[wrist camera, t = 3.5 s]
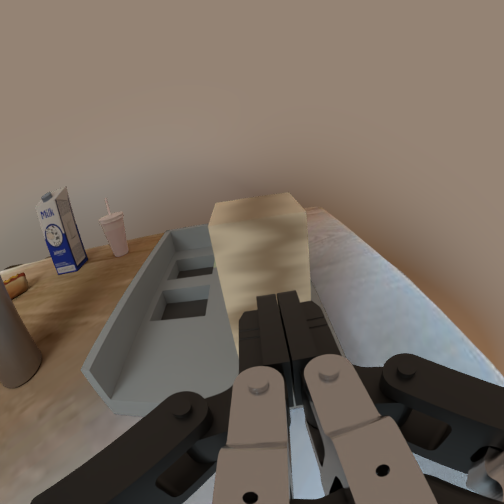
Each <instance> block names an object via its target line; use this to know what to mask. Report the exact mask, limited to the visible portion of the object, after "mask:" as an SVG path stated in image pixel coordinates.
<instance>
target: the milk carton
mask: <svg viewBox="0 0 504 504" xmlns="http://www.w3.org/2000/svg"><path fill="white" fill-rule="evenodd" d="M35 208H36V211H37V215H38V218H39V222H40V225H41V228H42V231H43V234H44V238H45V241H46V244H47V246H48V249H49V252H50V255H51V257H52V260H53V263H54V265H55V268H56V270H57V273H58V275H60V274H65V273H70V272H75V271H78V270H79V269H80V268H81V267H82V265H83V264H84V263H85V262H86V261H87V260H88V258H87V255H86V252H85V249H84V246H83V243H82V240H81V238H80V234H79V231H78V228H77V225H76V221H75V218H74V214H73V211H72V207H71V203H70V200H69V196H68V192H67V187H63V188H60V189H58V190H55V191H53V192H49V193H47V194H45V195H44V196H42V198H41V200H40V202H39V203H38V204H37V205H36V206H35Z"/></svg>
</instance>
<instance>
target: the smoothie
mask: <svg viewBox="0 0 504 504" xmlns="http://www.w3.org/2000/svg"><path fill="white" fill-rule="evenodd" d="M105 202H106V206H107V210H108V215H106V216H104V217H102V218H100V219H99V220H98V221H99V224H100V225H101V226H102V228H103V231H104V233H105V235H106V238H107V240H108V242H109V244H110V247H111V249H112V251H113V253H114V255H115V257H120V256H123V255H125V254H127V253H128V252H129V251H128V246H127V240H126V234H125V228H124V222H123V216H124V215H123V212H115V213H110V209H109V205H108V201H107V198H105Z"/></svg>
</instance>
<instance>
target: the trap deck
mask: <svg viewBox="0 0 504 504" xmlns="http://www.w3.org/2000/svg"><path fill="white" fill-rule="evenodd" d="M208 224H209V223H208ZM208 224H202V225H196V226H190V227H184V228H179V229H173V230H168V231H166V232H165V234H164V235H163V236H162V238H161V239H160V241H159V242H158V243H157V245H156V246H155V248H154V249H153V251H152V252H151V253H150V255H149V256H148V258H147V259H146V261H145V262H144V264H143V265H142V267H141V268H140V270H139V271H138V273H137V274H136V276H135V277H134V279H133V280H132V282H131V284H130V285H129V287H128V288H127V290H126V291H125V293H124V295H123V296H122V298H121V299H120V301H119V303H118V304H117V306H116V307H115V309H114V311H113V312H112V314H111V316H110V317H109V319H108V321H107V323H106V324H105V326H104V328H103V329H102V331H101V333H100V335H99V336H98V338H97V340H96V342H95V344H94V345H93V347H92V349H91V351H90V353H89V354H88V356H87V358H86V360H85V362H84V364H83V366H82V368H81V371H82V373H83V374H84V375H85V377H86V378H87V380H88V381H89V382H90V384H91V385H92V386H93V388H94V389H95V390H96V392H97V393H98V394H99V396H100V397H101V398H102V399H103V401H104V402H105V403H106V404H107V406H108V407H109V408H110V409H111V410H112V412H113V413H114V414H120V415H130V416H143V417H145V416H146V415H147V414H148V413H150V412H151V411H152V410H153V409H154V408H156V407H157V406H158V405H159V404H160V403H161V402H163V401H164V400H165V399H166V398H167V397H169V396H170V395H172V394H175V393H177V392H182V391H191V392H195V393H198V394H200V395H201V396H202V397H203V398H208V397H210V396H213V395H216V394H219V393H222V392H224V391H225V390H227V389H229V388H230V387H231V386H232V385H233V383H234V381H235V379H236V377H237V376H238V375H239V358H238V354H237V350H236V346H235V342H234V338H233V334H232V330H231V326H230V322H229V318H228V314H227V310H226V305H225V301H224V297H223V293H222V288H221V284H220V280H219V275H218V271H217V266H216V262H215V257H214V253H213V248H212V243H211V239H210V234H209V229H208ZM310 285H311V300H312V301H313V302H314V303H316V304H317V305H318V306H319V307H321V310H322V312H323V314H324V317H325V319H326V321H327V323H328V326H329V328H330V330H331V332H332V335H333V337H334V339H335V342H336V344H337V346H338V349H339V351H340V353H341V355H342V357H345V358H346V356H345V354H344V352H343V350H342V347H341V345H340V343H339V340H338V338H337V336H336V334H335V331H334V329H333V327H332V325H331V322H330V320H329V318H328V316H327V313H326V311H325V309H324V307H323V305H322V303H321V300H320V298H319V296H318V294H317V292H316V290H315V287H314V285H313V283H312V281H311V279H310ZM292 389H293V388H292ZM293 400H294V407H289V408H290V409H295V408H300V407H303V405H299V406H296V403H295V398H294V393H293Z"/></svg>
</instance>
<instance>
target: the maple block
mask: <svg viewBox="0 0 504 504" xmlns="http://www.w3.org/2000/svg"><path fill="white" fill-rule="evenodd" d="M208 229H209V234H210V239H211V243H212V248H213V253H214V257H215V262H216V266H217V271H218V275H219V280H220V284H221V288H222V293H223V297H224V301H225V305H226V310H227V314H228V318H229V322H230V326H231V330H232V334H233V338H234V342H235V346H236V350H237V354H238V358H239V319H240V318H241V316H242V314H243V313H244V312H245V311H252V310H257V300H256V296H262V295H269V294H275V295H276V299H277V293H281V292H287V291H293V290H296V292H297V295H298V297H299V300H300V302H306V301H311V285H310V263H309V246H308V231H307V218H306V211H305V210H304V209H303V208H302V207H301V205H300V204H299V203H298V202H297V201H296V200H295V199H294V198H293V196H292V195H291V194H290V193H289V192H288V193H279V194H272V195H265V196H258V197H251V198H244V199H238V200H232V201H225V202H219V203H216V204H215V207H214V210H213V212H212V215H211V218H210V222H209V224H208ZM277 304H278V302H277Z"/></svg>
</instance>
